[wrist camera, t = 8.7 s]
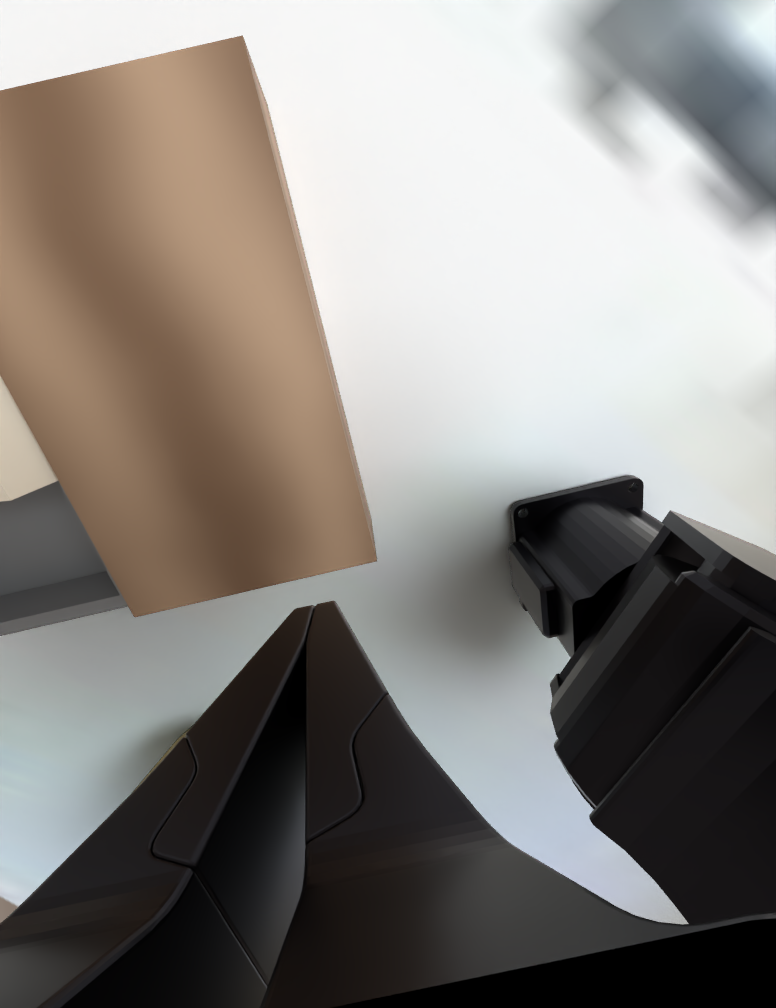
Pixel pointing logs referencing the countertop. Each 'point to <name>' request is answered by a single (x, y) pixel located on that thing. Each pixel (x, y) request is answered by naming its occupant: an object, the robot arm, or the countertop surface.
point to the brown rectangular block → (173, 329)
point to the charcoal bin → (49, 564)
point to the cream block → (19, 453)
